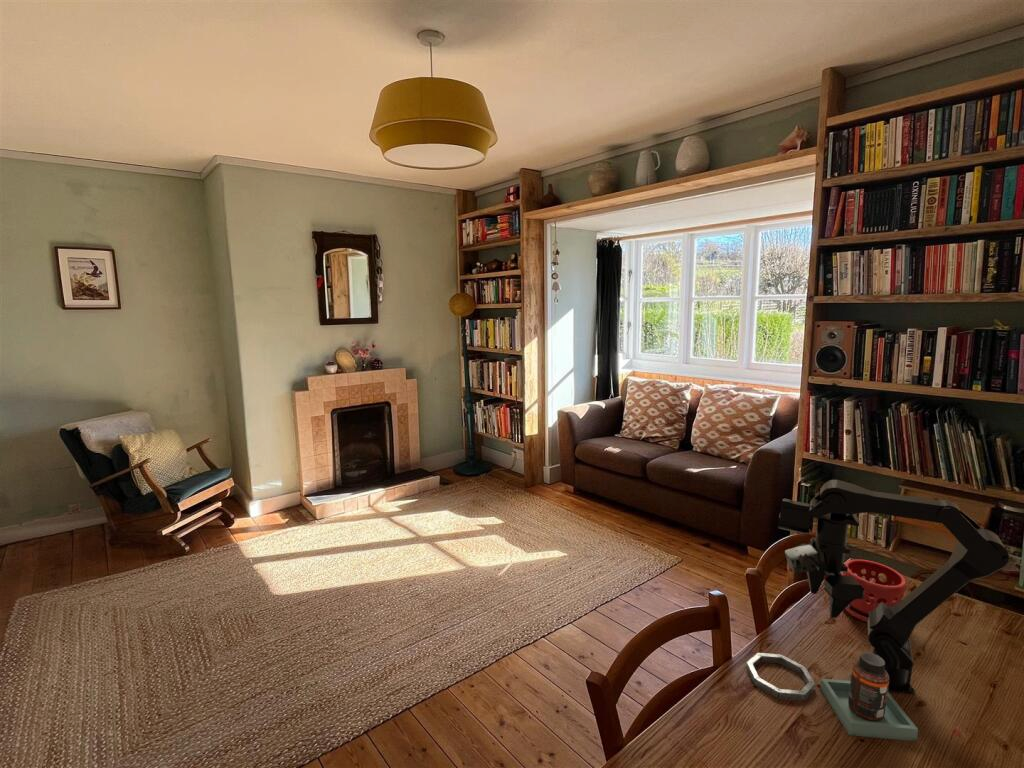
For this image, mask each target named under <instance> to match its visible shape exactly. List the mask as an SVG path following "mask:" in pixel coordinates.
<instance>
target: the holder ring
mask: <svg viewBox="0 0 1024 768" xmlns="http://www.w3.org/2000/svg"><path fill="white" fill-rule="evenodd" d="M761 663H771V664H781V665H782V666H785V667H786V668H788V669H790V670H792V671H794V672H796V673H798V674H799V675H800V676H801V678H802V679H803V681H804V683H805V686H804V687H802V689H801V690H800V689H799V690H798V689H796V690H795V689H787V688H786V689H785V688H784V689H783V688H778V687H777V686H775V685H773V684H772V683H770V682H768V681H766V680H765V679H762V678H761V677H760V676H759V674H758V671H757V670H756V667H757V666H758V665H760V664H761ZM747 670H748V671H747ZM746 671H747V672H749V673H748V675H749V677H750V679H751V681H752V683H753V685H754V686H755V687H757V688H759V689H761V690H762V691H764V692H766V693H768V694H769V695H771V696H773V698H774V697H775V698H776V699H779V700H785V701H787V700H788V701H798V702H804V701H806V700H807V699H808V698H809V697H810V696H811V695H812V694H813V692H814V691H815V687H816V682H815V681H814V679H813V677H812V676H811V674H810V672H809V671H808V669H807V668H806V667H805V666H804V665H802V664H800V663H799V662H797V661H794V660H793V659H790V658H789V657H787V656H785V655H783V654H779V653H778V654H777V653H769V652H768V653H766V652H765V653H764V652H757V653H756V654H755V655H754V656H753V657H751V658H750V659H749V660H748V661H746Z"/></svg>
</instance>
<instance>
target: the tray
mask: <svg viewBox="0 0 1024 768" xmlns="http://www.w3.org/2000/svg"><path fill="white" fill-rule="evenodd" d="M850 683H851V680H845V679H844V680H842V679H834V678H833V679H831V678H830V679H829V678H821V679H820V687H819V690H820V691H821V694H822V695H823V696H824V697H825V699H826V701H827V702H828V704H829V706H830V708H831V709H832V711H833V712H834V713H835V715H836V716H837V718H838V719H839V722H840V723H841V725H842V727H843V728H844V729H845V731H846V732H847V734H848V735H849V736H853V737H855V736H856V737H866V738H877V739H887V740H899V741H910V742H917V740H918V733H919V728H918V727H917V725H915V724H914V722H913V721H912V719H911V718H910V717H909V716H908V714H906V712H905V711H904V710H903V709H902V707H901V706H900V704H899V703H898V702H897V701H896V699H894V698H893V696H892V695H891V694H890V691H888V694H887V701H886V708H885V714H884V718H883V719H882V720H880V721H870V720H867V719H864V718H862V717H860V716H858V715H857V714H855V713H854V712H853V711H852V710H851V708H850V707H849V704H848V699H849V691H850Z"/></svg>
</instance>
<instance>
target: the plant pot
mask: <svg viewBox="0 0 1024 768" xmlns="http://www.w3.org/2000/svg"><path fill="white" fill-rule="evenodd" d="M844 564H845V565H846V566H847V567H848V571H847V572H846V571H842V575H843V576H852V577H853V578H854V579H855V580H856V581H857V582H858V583H859V584H860V585H861V586H862V587H863V588H864V589H865V592H864V598H863V599H854V600H853V601H852V602H851V603H850V604H849V605H848V606H847V607H846V608H845V609H844V610H845V611H846V612H847V613H848V614H850V615H851V616H853V617H854V618H856V619H857V620H861V621H862V622H866V623H868V618H869V611H873V610H874V609H876V608H877V607H878V605H879V604H880V603H881V602H883V603H884V604H885V605H886V606H887V607H889V606H893V605H896V604H898V603H899V602H900V601H902V600H903V599H904V595H905V591H906V588H907V587H906V586H907V581H906V578H905V577H904V575H902V574H901V573H900V572H899V571H897V570H895V569H893V568H892V567H889V566H887V565H885V564H882V563H880V562H876V561H871V560H866V559H851V560H848V561H846V562H844ZM862 570H865V572H862ZM872 572H874V573H875V574H873V573H872ZM880 574H882V575H884V576H885V577H886V580H885V581H883V580H881V579H880V578H879V575H880ZM863 577H864V578H863ZM870 579H874V580H875V581H874V582H872V581H870Z"/></svg>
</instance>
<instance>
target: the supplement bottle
mask: <svg viewBox="0 0 1024 768" xmlns="http://www.w3.org/2000/svg"><path fill="white" fill-rule="evenodd" d="M859 655H860V656H859V660H857V661H854V663H853V664H852V667H851V668H852V669H851V676H850V681H851V683H850V691H849V699H848V704H849V707H850V708H851V710H852V711H853V712H854V713H855V714H857V715H858V716H860V717H862V718H864V719H867V720H870V721H880V720H882V719H883V718H884V714H885V708H886V701H887V694H888V692H889V691H888V687H889V675H888V673H887V672H886V671H885V661H884V660H883V659H882V658H881V657H879V656H877V655H875V654H873V652H872V653H871V652H868V651H867V652H861V653H860V654H859Z"/></svg>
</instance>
